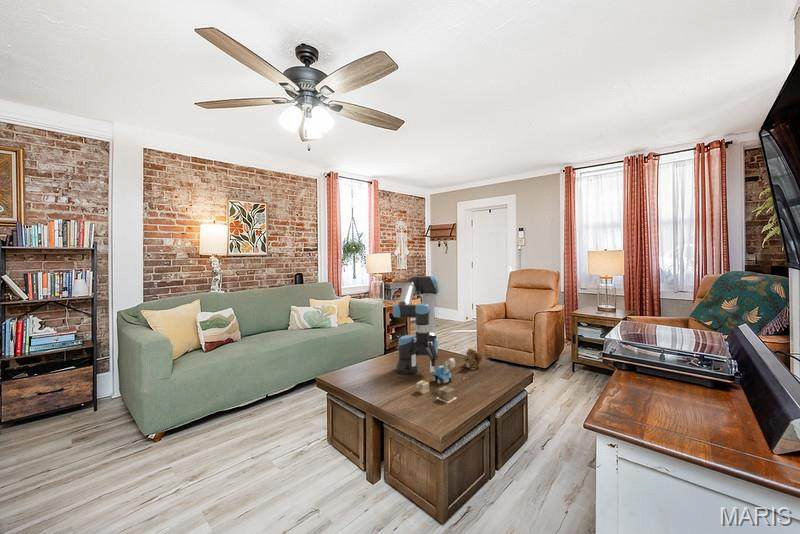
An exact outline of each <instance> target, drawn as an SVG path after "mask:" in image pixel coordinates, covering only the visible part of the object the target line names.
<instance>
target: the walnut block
mask: <svg viewBox="0 0 800 534" xmlns="http://www.w3.org/2000/svg"><path fill="white" fill-rule="evenodd" d="M438 397H439V399H442V400H445V401H447V402H448V401H450V400H452V399H453V398H454V397H455V388H453V387H450V386H447V385H444V386H442V387H440V388H438ZM439 399H438V400H439ZM442 400H441V401H442ZM452 401H453V400H452ZM447 402H446V403H447Z"/></svg>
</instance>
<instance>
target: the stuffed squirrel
mask: <svg viewBox="0 0 800 534" xmlns="http://www.w3.org/2000/svg"><path fill="white" fill-rule="evenodd" d="M464 355H465V356H466V357H463V361H464V363H463V364H461V365H460V366H461V368H467V369H470V371H475V370H477V368H478V367H479V366H480V364H481V361H482V360H483V356H484V354H482V353H481V352H477V350H474V349H473V348H470V347H468V350H467V351H466V352H465V354H464Z"/></svg>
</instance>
